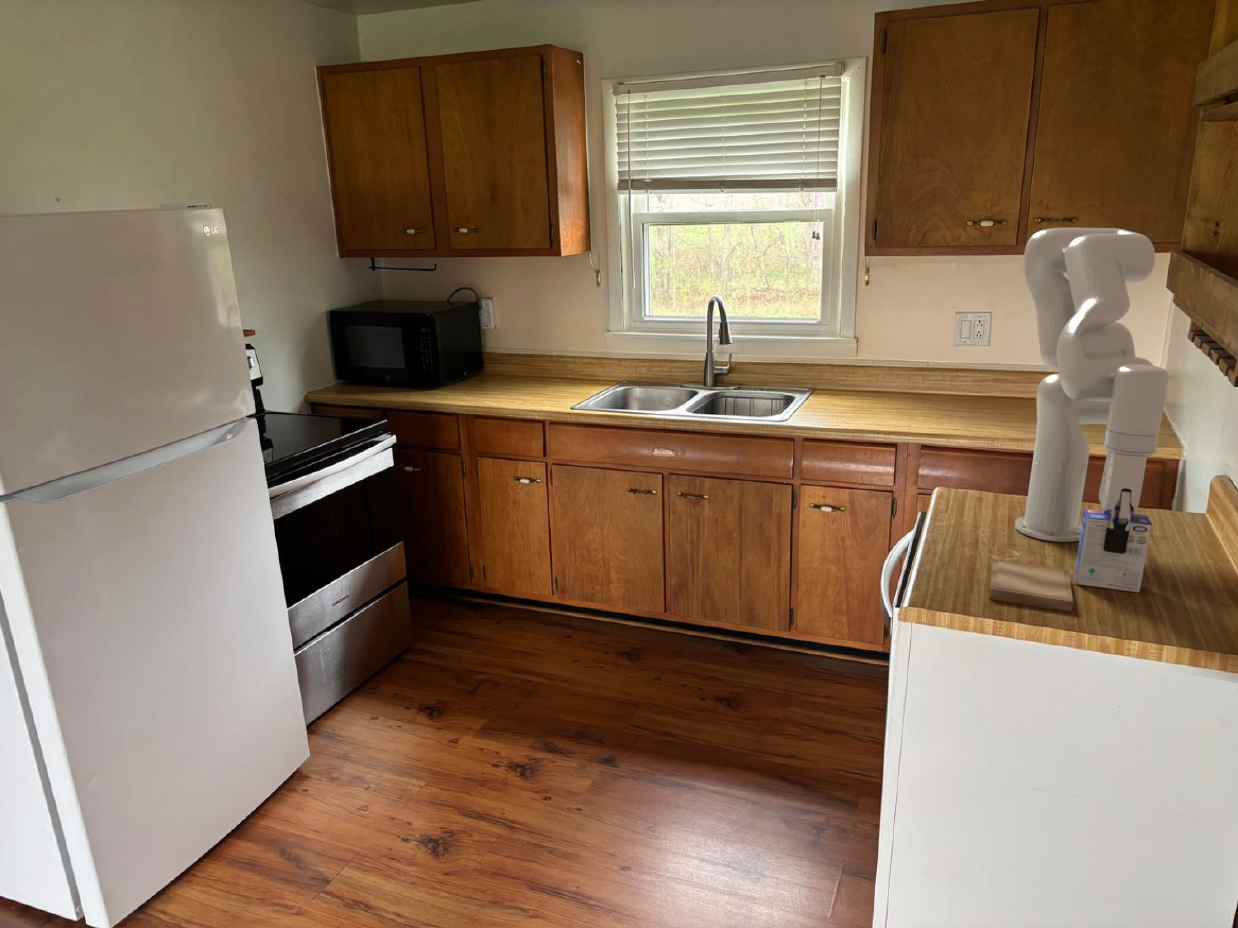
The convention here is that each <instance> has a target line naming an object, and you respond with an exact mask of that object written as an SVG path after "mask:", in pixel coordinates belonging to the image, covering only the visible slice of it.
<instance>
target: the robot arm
mask: <svg viewBox="0 0 1238 928" xmlns="http://www.w3.org/2000/svg"><path fill="white" fill-rule="evenodd" d="M1155 251H1156V250H1155V248H1154V244H1153V243H1152V241H1151V240H1150V238H1148V237H1147V236H1146V235H1144V234H1142V233H1138V232H1134V231H1130V230H1127V229H1122V228H1116V227H1112V228H1111V227H1053V228H1046V229H1042V230H1039V231H1037V232H1036V233H1034V234H1033V235H1032V236H1031V237H1029V239H1028V241H1027V242H1026V245H1025V248H1024V256H1023V270H1024V271H1023V272H1024V276H1025V280H1026V281H1025V282H1026V284H1027V287H1028V289H1029V292H1030V295H1031V296H1032V299H1033V302H1034V305H1035V310H1036V322H1037V334H1038V344H1039V351H1040V357H1041V360H1042V362H1043V363H1044V365H1045V366H1046V367H1048V368H1049V369H1053V370H1058V372H1055V373H1053V374H1049V375H1047V376H1046V377H1044V378H1042V380H1041V381H1040V383H1039V384H1038V386H1037V389H1036V403H1035V404H1036V431H1035V432H1036V434H1035V442H1034V447H1033V448H1034V449H1033V455H1032V456H1033V458H1032V463H1031V471H1030V477H1029V485H1028V492H1027V500H1026V506H1025V512H1024V513H1025V514H1024V516H1021V517H1018V518H1016V520H1015V523H1014V526H1015V529H1016V530H1017V531H1018V532H1020V533H1022V534H1023V535H1025V534H1026V535H1025V536H1029V537H1031V538H1035V539H1038V540H1043V541H1049V542H1056V543H1059V542H1060V543H1074V542H1078V541H1079V540H1080V533H1081V525H1082V524H1079V522H1080V521H1079V519H1080V514H1081V509H1082V507H1081V505H1082V501H1083V496H1084V495H1083V493H1084V489H1085V484H1086V483H1085V482H1086V476H1087V471H1088V470H1087V469H1088V464H1089V457H1090V444H1089V441H1088V439H1087V437H1086V436H1085V435H1084V433H1083V432H1082V429H1081V428H1080V425H1088V424H1089V425H1090V424H1093V425H1094V424H1095V425H1096V424H1097V425H1106V427H1105V433H1104V439H1103V443H1102V447H1103V449H1104V450H1106V451H1107V454H1106V459H1105V463H1104V468H1103V472H1102V473H1103V474H1102V478H1101V483H1100V487H1099V492H1098V499H1099V503H1100V506H1101V509H1102V511H1108V510H1111V515H1110V523H1109V528H1107V530H1106V536H1105V542H1104V547H1103V549H1104V551H1106V552H1113V553H1120V554H1124V553H1125V552H1126V547H1127V541H1128V536H1129V524H1130V516H1131V514H1137V511H1138V510H1139V509H1138V508H1139V503H1140V501H1141V500H1140V499H1141V494H1142V489H1143V483H1144V476H1145V471H1146V463H1147V459H1148V458H1147V457H1148V456H1153V455H1155V454H1156V452H1157V447H1158V443H1159V442H1158V440H1159V435H1160V429H1161V424H1162V419H1163V414H1164V408H1165V403H1166V396H1167V392H1168V385H1169V379H1170V378H1169V377H1170V376H1169V373H1168V371H1167V370H1166V369H1164V368H1162V367H1159V366H1156V365H1154V364H1153V363H1152V362H1151V361H1149V360H1148V359H1146V358H1143V357H1136V350H1135V344H1134V339H1133V336H1132V333H1131V332H1130V330H1129V329H1128V327H1126V326H1125V325H1124V324H1123V323H1121V322H1118V321H1119V320H1121V319H1122V318H1123V317H1124V316H1125V315H1126V314H1127V313H1128V312H1129V309H1130V306H1131V302H1130V296H1129V293H1128V289H1127V286H1126V285H1127V284H1126V282H1127V283H1130V282H1131V283H1136V282H1142V281H1144V280H1147V278H1148V277H1149V276H1150V275H1151V274H1152V272H1153V270H1154V267H1155V263H1156V252H1155ZM1065 273H1066V275H1067V277H1066V275H1065ZM1115 509H1120V510H1119V511H1115ZM1115 514H1116V515H1118V517H1116V518H1115Z"/></svg>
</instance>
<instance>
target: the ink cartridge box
mask: <svg viewBox="0 0 1238 928" xmlns="http://www.w3.org/2000/svg"><path fill="white" fill-rule="evenodd" d="M1119 510H1120V509H1115V511H1119ZM1110 515H1111V510H1108V511H1104V510H1097V509H1095V510H1093V509H1085V508H1084V509H1083V511H1082V519H1081V524H1080V525H1081V533H1080V540H1079V542H1078V549H1077V554H1076V559H1075V568H1074V572H1073V579H1074V583H1075V585H1078V586H1079V585H1081V586H1089V587H1094V588H1095V587H1096V588H1105V589H1110V590H1117V591H1124V592H1125V591H1126V592H1132V593H1133V592H1134V593H1140V591H1141V587H1142V586H1141V585H1142V582H1143V575H1144V569H1145V565H1146V560H1147V559H1146V557H1147V553H1148V548H1149V543H1150V538H1151V537H1150V536H1151V532H1152V528H1153V524H1152V523H1153V522H1151V520H1150V518H1149V517H1148V515H1146V514H1140V513H1134V514H1131V516H1130V524H1129V536H1128V541H1127V547H1126V552H1125V553H1124V554H1120V553H1113V552H1106V551H1104V549H1103V547H1104V542H1105V536H1106V530H1107V528H1109V523H1110ZM1116 517H1118V515H1116V514H1115V518H1116Z"/></svg>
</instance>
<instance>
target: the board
mask: <svg viewBox="0 0 1238 928" xmlns="http://www.w3.org/2000/svg"><path fill="white" fill-rule="evenodd" d="M990 573H991V574H990V590H989V600H994V601H1001V602H1006V603H1012V604H1018V605H1025V606H1031V607H1035V608H1037V607H1038V608H1043V609H1049V610H1055V611H1062V612H1067V613H1068V612H1069V613H1072V611H1073V606H1074V605H1073V604H1074V599H1073V591H1072V586H1071V585H1072V584H1071V578H1070V570H1069V569H1064V568H1057V567H1051V566H1043V565H1037V564H1031V563H1023V562H1015V561H1010V560H1009V561H1008V560H1003V559H995V558H993V559H992V565H991V572H990Z"/></svg>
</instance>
